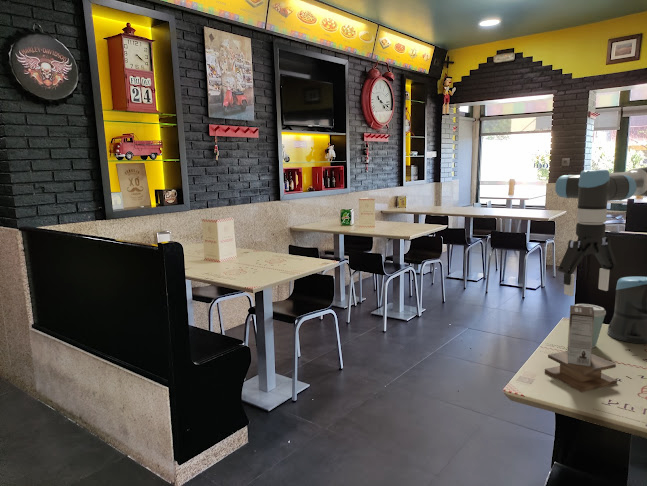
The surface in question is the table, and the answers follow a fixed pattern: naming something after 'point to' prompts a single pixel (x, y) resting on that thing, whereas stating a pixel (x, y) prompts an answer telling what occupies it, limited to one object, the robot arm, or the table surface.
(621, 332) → the robot arm
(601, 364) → the pedestal
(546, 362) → the table surface
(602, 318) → the disposable coffee cup
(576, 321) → the coffee box
